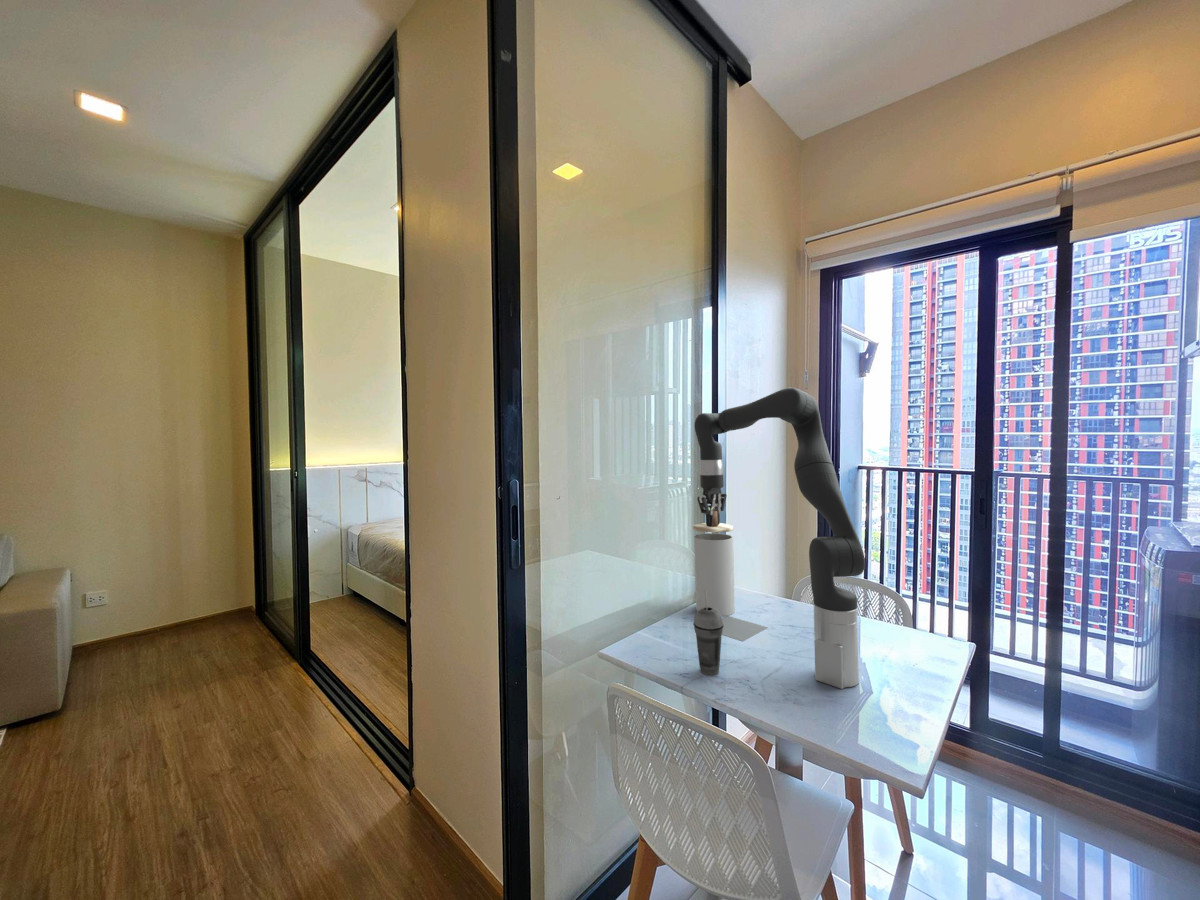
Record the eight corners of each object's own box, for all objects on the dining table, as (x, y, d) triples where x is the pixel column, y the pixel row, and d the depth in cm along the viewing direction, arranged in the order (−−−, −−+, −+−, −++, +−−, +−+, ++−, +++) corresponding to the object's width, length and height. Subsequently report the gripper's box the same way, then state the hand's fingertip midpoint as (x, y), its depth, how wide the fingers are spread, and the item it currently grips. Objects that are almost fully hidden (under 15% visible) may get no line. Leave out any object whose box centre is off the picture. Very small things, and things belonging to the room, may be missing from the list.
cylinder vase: (711, 602, 167) (709, 531, 166) (742, 611, 157) (740, 536, 157) (688, 611, 159) (686, 536, 159) (719, 621, 149) (717, 542, 149)
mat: (742, 643, 132) (742, 641, 132) (701, 629, 143) (701, 627, 143) (768, 629, 142) (768, 627, 142) (727, 617, 152) (727, 615, 152)
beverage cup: (703, 680, 112) (700, 596, 112) (689, 667, 119) (687, 587, 119) (730, 675, 114) (728, 592, 114) (715, 662, 121) (713, 584, 121)
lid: (718, 534, 148) (718, 515, 148) (685, 529, 158) (684, 511, 158) (740, 528, 157) (740, 510, 157) (707, 524, 167) (707, 507, 167)
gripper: (708, 475, 150) (710, 529, 150) (733, 472, 159) (734, 523, 160) (689, 474, 156) (690, 527, 156) (714, 472, 165) (715, 521, 165)
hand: (713, 525), depth 158 cm, fingers closed on lid, 3 cm apart
